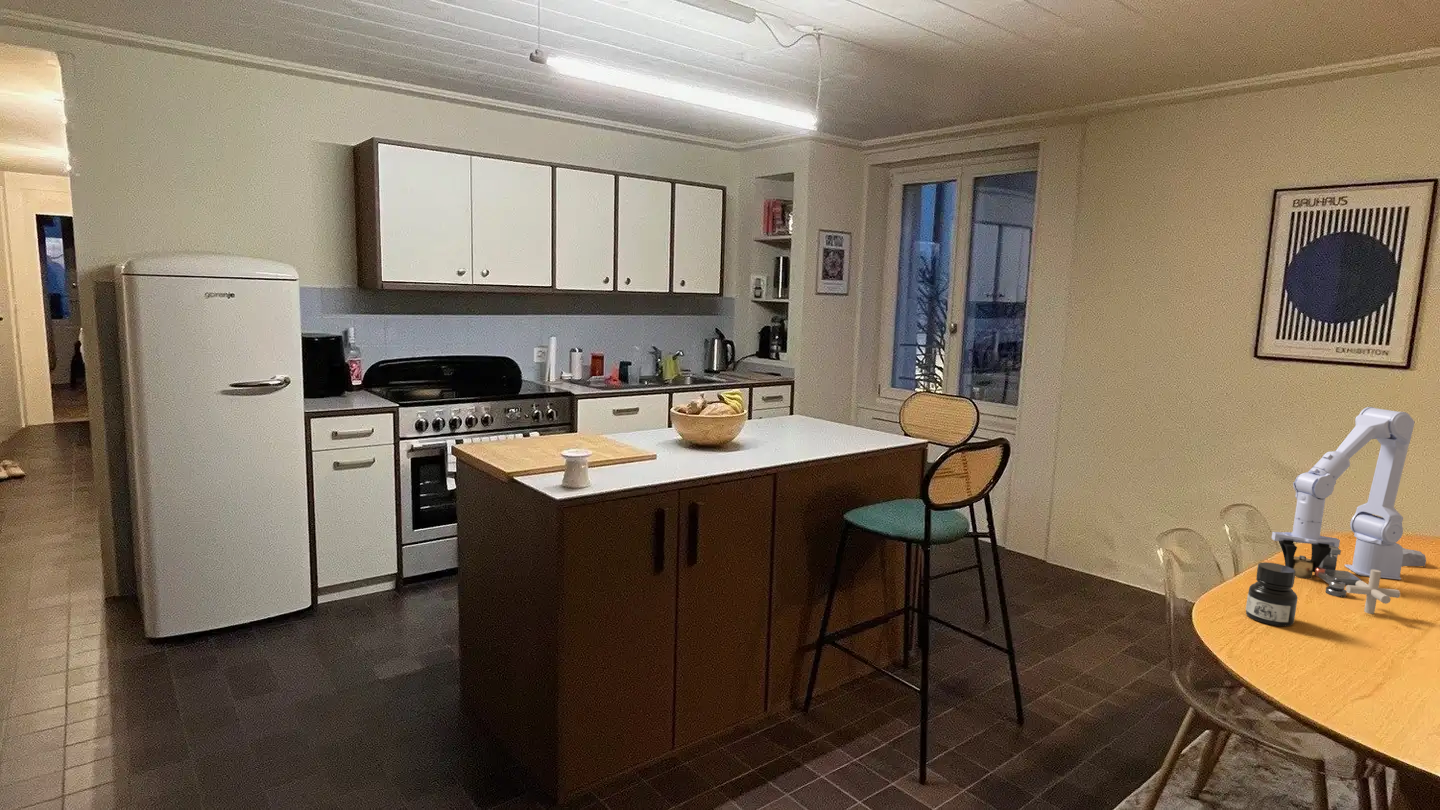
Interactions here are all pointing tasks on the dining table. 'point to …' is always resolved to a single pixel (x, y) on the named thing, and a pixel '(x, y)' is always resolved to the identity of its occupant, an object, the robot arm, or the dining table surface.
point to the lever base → (1336, 592)
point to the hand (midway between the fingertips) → (1300, 569)
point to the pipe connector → (1373, 591)
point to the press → (1330, 567)
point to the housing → (1303, 567)
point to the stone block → (1413, 558)
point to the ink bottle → (1272, 595)
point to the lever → (1329, 579)
